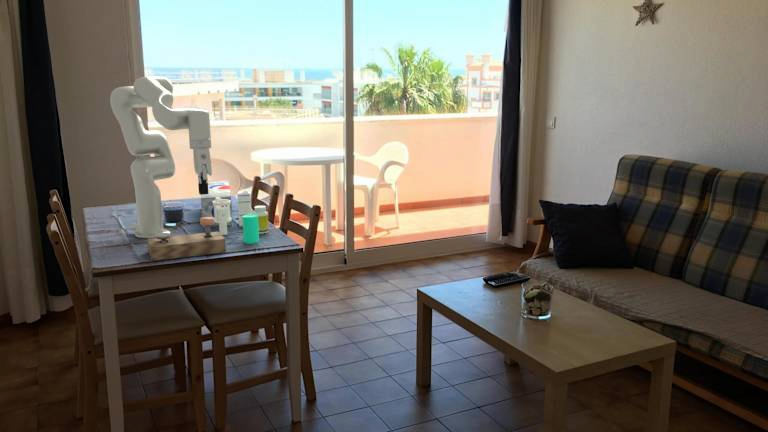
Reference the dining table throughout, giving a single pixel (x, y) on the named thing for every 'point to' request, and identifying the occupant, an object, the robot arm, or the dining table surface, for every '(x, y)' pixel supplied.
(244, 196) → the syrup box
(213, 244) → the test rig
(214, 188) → the soda pack
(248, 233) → the candle
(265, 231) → the pill bottle
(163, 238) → the silver oval piece
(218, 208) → the white cylindrical holder
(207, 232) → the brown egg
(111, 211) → the dining table surface
